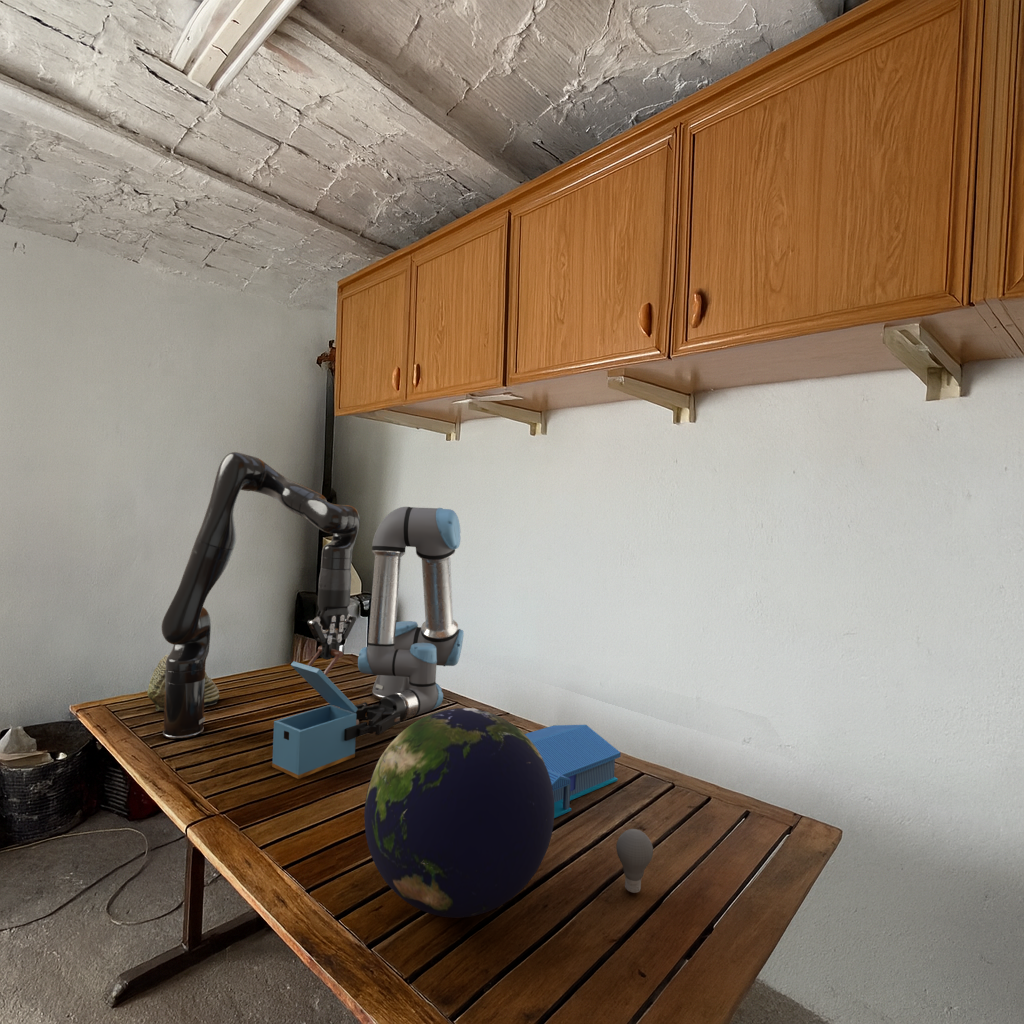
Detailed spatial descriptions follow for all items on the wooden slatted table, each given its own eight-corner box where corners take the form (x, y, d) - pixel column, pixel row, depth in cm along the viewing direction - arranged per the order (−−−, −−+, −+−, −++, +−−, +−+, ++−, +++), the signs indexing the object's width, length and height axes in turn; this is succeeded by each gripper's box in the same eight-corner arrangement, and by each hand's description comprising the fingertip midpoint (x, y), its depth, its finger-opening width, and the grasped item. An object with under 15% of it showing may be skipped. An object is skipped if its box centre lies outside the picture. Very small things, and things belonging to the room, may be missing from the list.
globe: (319, 928, 93) (327, 726, 93) (422, 833, 121) (429, 676, 120) (506, 997, 82) (516, 767, 81) (573, 874, 109) (581, 702, 109)
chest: (298, 779, 142) (300, 731, 141) (272, 766, 147) (273, 721, 147) (354, 756, 155) (356, 713, 155) (328, 746, 160) (330, 704, 160)
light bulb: (610, 879, 108) (613, 822, 108) (644, 879, 109) (647, 822, 109) (619, 902, 102) (622, 840, 102) (655, 901, 103) (658, 840, 103)
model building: (501, 841, 119) (503, 788, 119) (426, 793, 137) (428, 747, 137) (629, 785, 145) (631, 742, 145) (552, 750, 163) (554, 712, 163)
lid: (316, 673, 144) (338, 644, 149) (290, 664, 150) (311, 637, 155) (355, 713, 154) (374, 684, 159) (329, 704, 160) (348, 676, 165)
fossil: (144, 707, 182) (145, 655, 182) (212, 696, 194) (213, 647, 194) (151, 716, 175) (153, 662, 175) (221, 703, 188) (223, 653, 188)
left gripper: (321, 590, 146) (316, 665, 146) (366, 587, 157) (362, 656, 157) (301, 586, 150) (296, 659, 150) (346, 583, 161) (342, 651, 161)
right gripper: (427, 731, 166) (361, 757, 148) (368, 711, 179) (301, 733, 161) (428, 702, 166) (363, 725, 148) (369, 685, 179) (303, 704, 161)
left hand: (330, 658), depth 153 cm, fingers closed
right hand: (331, 729), depth 155 cm, fingers closed on chest, 10 cm apart
